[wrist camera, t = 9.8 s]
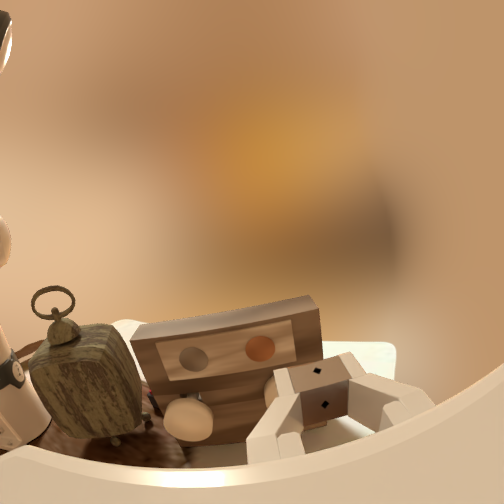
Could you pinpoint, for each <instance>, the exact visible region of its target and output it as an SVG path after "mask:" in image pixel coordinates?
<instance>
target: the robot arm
mask: <svg viewBox="0 0 504 504" xmlns="http://www.w3.org/2000/svg"><path fill="white" fill-rule="evenodd" d="M11 23H12V20H11V18H10V16H9V13H8V12H5V11H1V10H0V74H1V72H2V71H3V69H4V67H5V64H6V62H7V59H8V56H9V53H10V48H11V42H12V30H11ZM10 250H11V236H10V231H9V228H8V226H7V224H6V222H5V221H4V219H3V218H2V217H1V216H0V268H1V267H2V266H4V265H5V264H6V263H7V261H8V258H9V255H10ZM273 371H274V378H275V383H276V389H277V395H278V397H277V398H275V399H274V401H273V402H272V404H271V405H270V406H269V408H268V409H267V411H266V412H265V414H264V415H263V417H262V418H261V419H260V421H259V422H258V424H257V425H256V426H255V428H254V429H253V431H252V432H251V433H250V435H249V436H248V437H247V439H246V445H247V460H248V464H247V465H238V466H228V467H214V468H185V469H178V468H149V467H135V466H125V465H117V464H109V463H103V462H97V461H91V460H85V459H80V458H76V457H71V456H67V455H63V454H59V453H55V452H51V451H48V450H44V449H41V448H38V447H35V446H31V445H26V444H27V443H28V442H30V441H31V440H33V439H35V438H36V437H38V436H39V435H40V434H41V433H42V432H43V431H44V430H45V429H46V428H47V426H48V425H49V423H50V420H51V416H50V414H49V413H48V412H47V410H46V409H45V407H44V405H43V404H42V402H41V400H40V398H39V397H38V395H37V393H36V391H35V390H34V388H33V387H32V386H31V384H30V383H29V381H28V380H27V378H26V377H25V374H24V372H23V369H22V367H21V365H20V363H19V361H18V359H17V357H16V355H15V353H14V351H13V349H11V348H10V346H9V344H8V342H7V340H6V337H5V335H4V333H3V330H2V328H1V325H0V449H4V450H8V451H10V452H7V453H5V454H3V455H1V456H0V504H504V363H503V364H502V365H500V366H499V367H498V368H496V369H495V370H493V371H492V372H491V373H489V374H488V375H486V376H485V377H483V378H482V379H480V380H479V381H477V382H476V383H474V384H473V385H471V386H470V387H468V388H466V389H465V390H463V391H461V392H460V393H458V394H456V395H455V396H453V397H451V398H450V399H448V400H446V401H444V402H442V403H441V404H439V405H437V406H436V405H435V404H434V403H433V401H432V400H431V399H430V398H429V397H428V396H427V395H426V394H425V392H424V391H423V390H422V389H421V388H417V387H414V386H410V385H407V384H404V383H400V382H397V381H394V380H391V379H387V378H384V377H381V376H378V375H375V374H372V373H368V374H366V372H365V371H364V370H363V368H362V367H361V365H360V364H359V363H358V361H357V360H356V359H355V357H354V356H353V354H352V353H351V352H347V353H343V354H340V355H337V356H335V357H331V358H327V359H324V360H320V361H316V362H311V363H306V364H301V365H296V366H291V367H287V368H282V369H276V370H273ZM346 415H348V416H349V417H350V418H352V419H354V420H355V421H357V422H359V423H361V424H362V425H364V426H366V427H367V428H369V429H371V430H373V431H374V432H376V433H374V434H371V435H369V436H366V437H363V438H360V439H357V440H354V441H351V442H348V443H345V444H342V445H338V446H335V447H331V448H328V449H324V450H320V451H317V452H313V453H308V454H305V450H304V447H303V444H302V440H301V437H300V436H301V433H302V431H303V429H304V427H305V426H309V425H313V424H316V423H320V422H323V421H327V420H331V419H335V418H339V417H342V416H346Z"/></svg>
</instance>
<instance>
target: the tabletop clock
mask: <svg viewBox="0 0 504 504" xmlns="http://www.w3.org/2000/svg"><path fill="white" fill-rule="evenodd" d="M50 291H61V292H64V293H66V294H68V295H69V296H70V297H71V299H72V305H71V306H70V307H69V308H68V309H67V310H65V311H63V312H60V313H59V311H58V309H57V308H56V307H54V308H53V309H52V310H51V312H52V314H51V315H44V314H40V313H38V312H37V311H36V310H35V306H34V305H35V301H36V299H37V298H38V297H39V296H40V295H42V294H43V293H47V292H50ZM31 306H32V310H33V312H34V313H35V314H36V315H37V316H38V317H40V318H41V319H46V320H55V322H53V323H52V324H51V325H50V326H49V329H48V333H47V338H46V339H45V340H44V341H43V343H42V344H41V345H40V347H39V348H38V349H37V351H36V352H35V354H34V355H33V357H32V358H31V359H30V360H29V362H28V367H29V373H30V378H31V382H32V384H33V387H34V389H35V391H36V393H37V395H38V397H39V398H40V400H41V402H42V404H43V405H44V407H45V409H46V410H47V412H48V413H49V414H50V416H51V417H52V419H53V420H54V421H55V423H56V424H57V425H58V426H59V427H60V428H61V430H62V431H63V432H65V433H66V434H67V435H68V436H70V437H74V438H103V437H109V436H111V437H112V438H111V440H110V442H111V444H112V445H113V446H115V447H117V446H119V445H120V444H121V441H120V440H119V438H117V437H115V435H120V434H125V433H128V432H130V431H132V430H134V429H135V428H136V427H137V426H139V425H140V424H141V423H142V420H143V421H146V422H147V421H149V420H150V419H151V416H150V414H149V413H147V412H144V413H142V384H141V379H140V376H139V373H138V370H137V367H136V365H135V362H134V359H133V357H132V355H131V353H130V351H129V349H128V347H127V345H126V343H125V341H124V340H123V338H122V337H121V335H120V333H119V332H118V331H117V330H116V329H115V328H114V327H113V325H108V324H90V325H84V326H78V325H77V324H76V323H75V322H74V321H72V320H70V319H68V318H62V317H65V316H67V315H68V314H69V313H70V312H72V310H73V308H74V306H75V298H74V296H73V294H72V293H71V292H70V291H69V290H68V289H66V288H64V287H61V286H58V285H57V286H48V287H45V288H42V289H40V290H38V291H37V292H36V293H35V294H34V296H33V298H32V301H31ZM61 318H62V319H61Z"/></svg>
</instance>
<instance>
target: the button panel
mask: <svg viewBox="0 0 504 504" xmlns="http://www.w3.org/2000/svg"><path fill="white" fill-rule="evenodd" d="M130 343H131V346H132V348H133V351H134V353H135V356H136V358H137V360H138V363H139V365H140V367H141V370H142V372H143V374H144V377H145V379H146V381H147V383H148V385H149V388H150V390H151V392H152V394H153V396H154V398H155V400H156V402H157V404H158V406H159V408H160V410H161V412H162V414H163V416H165V412H166V409H167V406H168V404H169V403H170V402H172V401H173V400H176V399H180V398H186V397H187V393H197V392H199V398H198V401H200V402H202V403H204V404H206V405H207V406H208V407H209V408H210V409H211V411H212V413H213V429H212V433H211V435H210V436H209V437H208V438H206V439H204V440H201V441H194V442H192V441H184V440H181V439H178V438H176V437H175V438H176V440H177V441H178V443H179V445H180V446H181V447H195V446H211V445H222V444H232V443H240V442H246V439H247V437H248V436H249V435H250V433H251V432H252V431H253V429H254V428H255V426H256V425H257V424H258V422H259V421H260V419H261V418H262V417H263V415H264V414H265V412H266V411H267V409H268V408H267V407H266V403H265V396H264V386H265V384H266V382H267V381H268V380H269V379H270V378H271V377H272V376H274V371H273V370H276V369H282V368H287V367H291V366H296V365H301V364H306V363H311V362H316V361H320V360H323V349H322V337H321V326H320V316H319V308H318V307H317V305H316V304H315V302H314V301H313V300H312V299H311V297H310V296H309V295H306V296H301V297H297V298H292V299H287V300H282V301H278V302H273V303H268V304H263V305H258V306H252V307H247V308H242V309H236V310H231V311H225V312H220V313H214V314H208V315H202V316H197V317H190V318H183V319H177V320H170V321H164V322H157V323H149V324H142V325H140V326H139V327H138V329H137V330H136V332H135V333H134V335H133V336H132V338H131V339H130ZM325 425H327V421H323V422H320V423H316V424H313V425H309V426H305V427H304V429H303V431H306V430H310V429H314V428H318V427H322V426H325Z"/></svg>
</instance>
